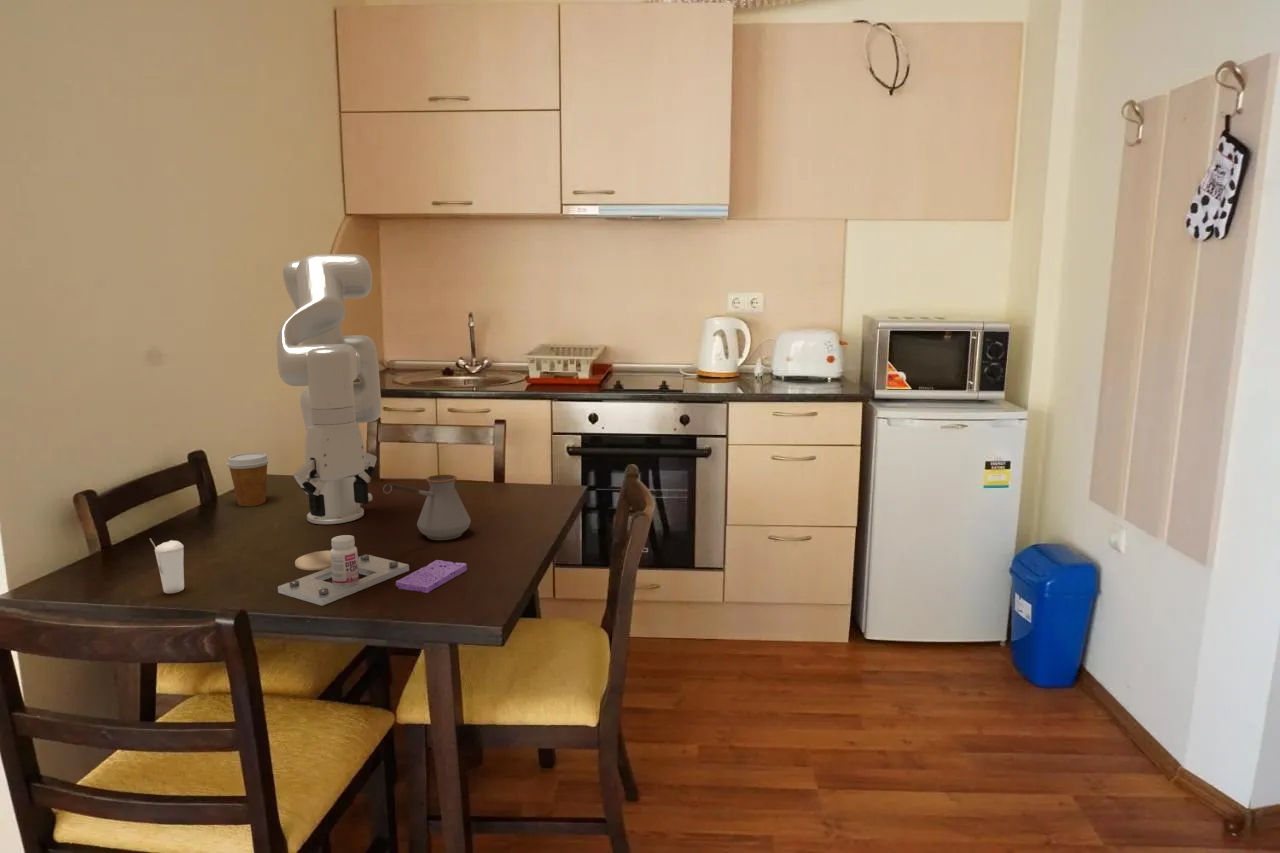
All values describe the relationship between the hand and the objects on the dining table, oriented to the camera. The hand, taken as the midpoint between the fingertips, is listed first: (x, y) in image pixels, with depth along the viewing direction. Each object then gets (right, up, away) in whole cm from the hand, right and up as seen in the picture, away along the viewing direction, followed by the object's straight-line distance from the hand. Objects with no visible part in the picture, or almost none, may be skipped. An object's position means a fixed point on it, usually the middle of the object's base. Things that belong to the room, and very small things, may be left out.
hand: (340, 509), depth 152 cm
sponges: (+16, -14, +4) cm, 22 cm away
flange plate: (0, -14, +3) cm, 14 cm away
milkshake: (-30, -15, -1) cm, 34 cm away
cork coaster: (-9, -12, +14) cm, 20 cm away
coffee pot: (+9, -10, +26) cm, 29 cm away
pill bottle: (0, -14, +3) cm, 14 cm away
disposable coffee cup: (-43, -4, +57) cm, 72 cm away
